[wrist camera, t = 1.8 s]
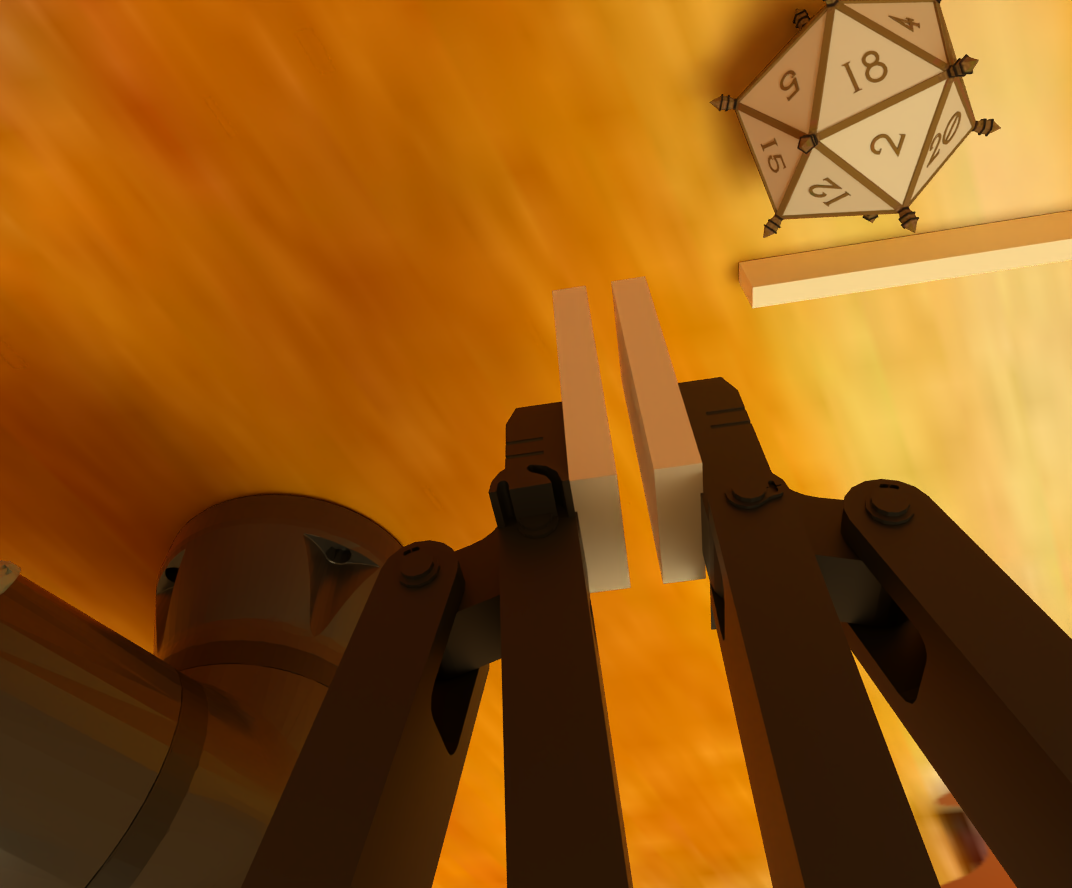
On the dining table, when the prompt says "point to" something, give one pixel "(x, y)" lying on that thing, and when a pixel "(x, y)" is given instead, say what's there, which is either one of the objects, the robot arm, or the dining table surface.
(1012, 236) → the tan piece
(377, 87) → the dining table surface
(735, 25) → the dining table surface
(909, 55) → the game die
